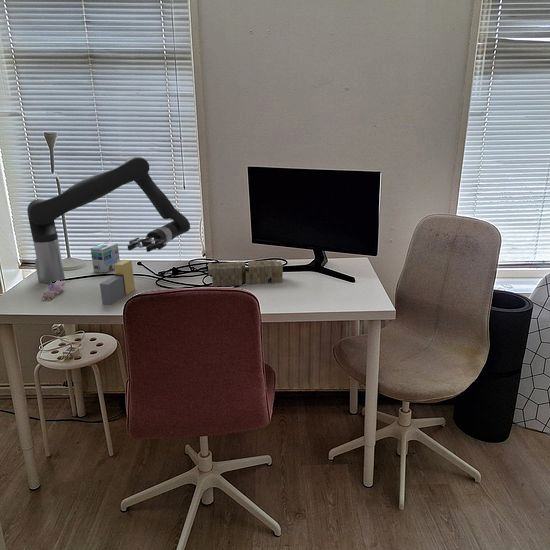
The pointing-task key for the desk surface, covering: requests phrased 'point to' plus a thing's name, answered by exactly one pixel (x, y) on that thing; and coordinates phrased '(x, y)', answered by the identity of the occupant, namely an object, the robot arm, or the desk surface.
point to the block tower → (245, 273)
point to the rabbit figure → (53, 290)
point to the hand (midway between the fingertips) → (137, 248)
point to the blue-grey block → (113, 289)
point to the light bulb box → (105, 256)
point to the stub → (126, 274)
